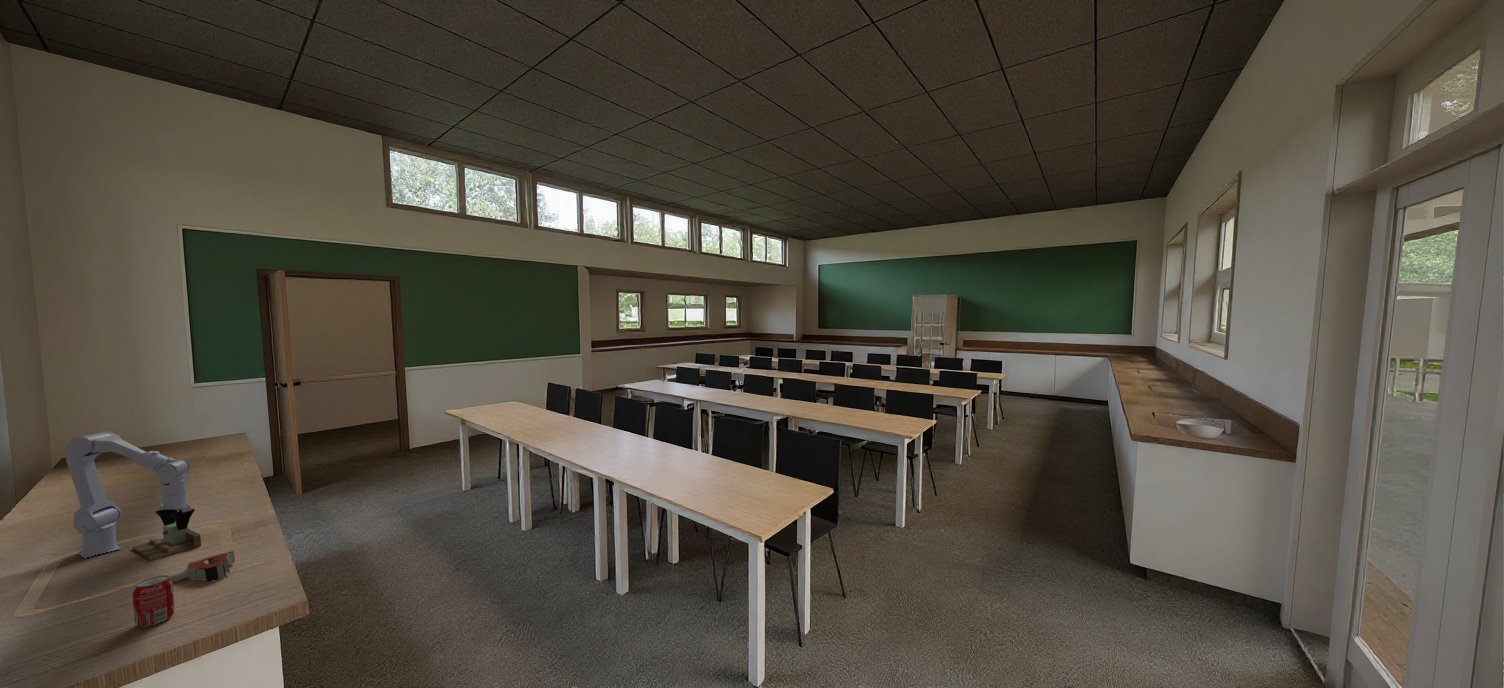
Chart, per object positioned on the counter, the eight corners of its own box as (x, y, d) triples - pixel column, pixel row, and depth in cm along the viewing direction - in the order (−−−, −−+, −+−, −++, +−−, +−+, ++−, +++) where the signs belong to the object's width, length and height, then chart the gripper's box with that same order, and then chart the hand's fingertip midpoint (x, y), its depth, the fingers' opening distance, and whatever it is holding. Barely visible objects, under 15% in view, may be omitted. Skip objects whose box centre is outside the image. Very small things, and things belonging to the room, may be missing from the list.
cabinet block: (160, 545, 176) (159, 527, 176) (179, 539, 181) (178, 521, 181) (168, 546, 175) (167, 528, 175) (186, 541, 180) (185, 523, 179)
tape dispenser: (135, 597, 148) (199, 592, 148) (132, 581, 148) (196, 577, 148) (200, 565, 166) (257, 561, 166) (197, 551, 165) (254, 547, 165)
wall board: (132, 549, 176) (131, 537, 175) (181, 535, 186) (181, 524, 186) (150, 560, 167) (150, 548, 167) (201, 546, 178) (200, 534, 177)
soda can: (156, 614, 136) (153, 574, 136) (182, 613, 137) (180, 573, 136) (125, 630, 129) (123, 588, 129) (154, 629, 130) (151, 587, 129)
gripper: (146, 494, 176) (148, 530, 177) (171, 498, 172) (172, 534, 173) (173, 488, 183) (175, 522, 183) (197, 492, 179) (199, 526, 180)
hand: (176, 528), depth 179 cm, fingers open, 7 cm apart
